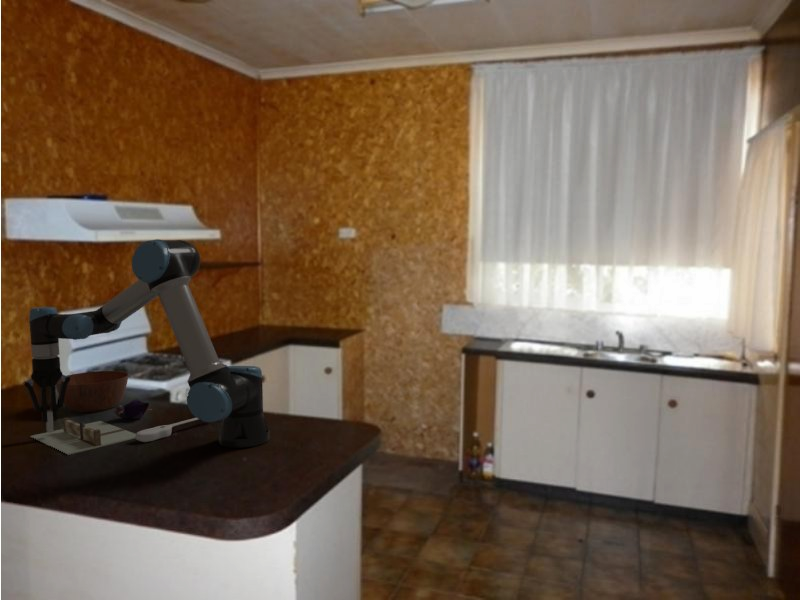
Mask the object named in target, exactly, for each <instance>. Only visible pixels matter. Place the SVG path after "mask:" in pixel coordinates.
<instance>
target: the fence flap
mask: <svg viewBox="0 0 800 600" xmlns="http://www.w3.org/2000/svg"><path fill="white" fill-rule="evenodd" d="M62 425H63V426H62V429H63V431H64V432H69V433H71V434H73V435H76V436H78V437H80V422H79V423H78V422H76V421H73V420H71V419H70V417H62Z"/></svg>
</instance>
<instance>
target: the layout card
mask: <svg viewBox="0 0 800 600" xmlns="http://www.w3.org/2000/svg"><path fill="white" fill-rule="evenodd" d="M85 427H89V428H91V429H94V430H97V429H99V430H100V435H101V445H100V446H95V445H94V443H92V442H90V441H88V440H85V439H83V440H81V438H80V437H78V436H76V435H73V434H71V433H69V432H64V431H63V428H61V429H56V430H54V432H51V433H48V432H47V431H45V432H42V433H38V434H33V435H30V438H31V439H33V438H34V439H33V440H35V439H36V441H37V440H38V441H37V442H39V441H40V443H41V442H42V443H41V444H43V443H44V444H43V445H45V446H48V447H50V446H51V447H50V448H52V447H53V448H52V449H54V448H55V449H54V450H56V449H57V450H56V451H58V450H59V452H60V451H61V452H60V453H62V452H63V453H62V454H64V453H65V455H66V454H67V456H70V455H75V454H77V453H82V452H85V451H90V450H95V449H98V448H102V447H106V446H111V445H115V444H118V443H122V442H125V441H130V440H131V441H132V440H133V439H135V440H136V433H135V432H132V431H129V430H126V429H123V428H121V427H118V426H116V425H113V424H110V423H107V422H104V421H102V420H99V421H93V422H88V423H85Z"/></svg>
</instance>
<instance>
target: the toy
mask: <svg viewBox="0 0 800 600" xmlns="http://www.w3.org/2000/svg"><path fill="white" fill-rule="evenodd" d="M149 404H150V402H144V401H142V400H141V399H139V398H135V399H133V400H130V402H128V403H126V404H125V405H123V406H122V405H119V404H118V405H117V406H116V408H114V409H113V412H114V414H115V415H116V416H118V417H120V418H122V419H123V420H124V419H126V420H141V418H143V416H144V415H145V414H146V412H147V411H153V409H152V408H149Z"/></svg>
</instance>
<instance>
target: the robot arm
mask: <svg viewBox="0 0 800 600" xmlns="http://www.w3.org/2000/svg"><path fill="white" fill-rule="evenodd" d="M131 256H132V257H131V268H132V269H131V270H132V272H133V274H134V276H135V278H137V279H138V280H137V281H135V282H134V283H132V284H131V285H130V286H128V287H127V288H125V289H124V290H123V291H121V292H120V293H118V294H117V295H115V296H114V297H113V298H112V299H110V300H108V301H107V302H106V303H104V305H101V306H100V307H99V308H98V309H96V310H93V311H83V312H78V313H77V312H76V313H69V314H68V313H67V314H66V313H65V314H64V313H62V314H61V313H60V314H59V313H58V309H57V308H56V307H54V306H40V307H33V308H31V309H30V310H29V317H28V318H29V319H28V323H29V331H30V332H29V334H30V335H29V337H30V349H31V357H32V359H31V368H32V369H31V370H32V373H31V376H30V378H29V379H28V380H24V381H23V382H22V383H23V385H24V387H25V388H26V389H27V391H28V394H29V397H30V399H31V403H32V405H33V408H34V410H35V411H36V412H41V421H42V422H43V423H45V425H46V426H45V427H46V432H48V433H51V432H54V431H55V429H54V421H55V422H56V421H57V419H58V417H57V410H59V409H62V408H63V406H64V404H63V402H64V397H65V393H66V388H67V384H68V382H69V381H70V377H68V376H67V375H64V374H63V371H62V369H61V360H60V359H61V358H60V357H59V355H60V343H59V342H60V340H59V339H63V340H64V339H65V340H75V341H77V340H85V339H87V338H89V337H90V336H95V335H101V334H109V333H111V332H115V331H117V330H118V329H119V328H120V327H121V324H122V322H123V321H125V320H127V319H128V318H129V317H131V316H132V315H133V314H135V313H136V312H138V311H139V310H140V309H142V308H144V307H145V306H147V305H148V304H149V303H151V302H152V301H153V300H154V299H157V298H159V300H160V304H161V305H162V309H163V310H164V313H165V316H166V317H167V321H168V322H169V325H170V328H171V330H172V332H173V335H174V337H175V339H176V342H177V344H178V347H179V349H180V351H181V354H182V357H183V358H184V362H185V364H186V366H187V369H188V372H189V377H188V379H187V381H186V382H187V384H188V387H189V389H188V392H187V396H186V403H187V406H188V410H189V411H190V412H191V414H192V416H194V418H198V419H199V420H200V421H202V422H206V423H214V422H218V421H221V420H222V423H221V427H220V430H219V433H218V444H219V445H220V446H223V447H226V448H234V449H235V448H239V449H240V448H250V447H257V446H260V445H263V444H265V443H267V442H269V441H270V439H271V438H270V437H271V435H270V434H271V433H270V429H269V427H268V424H267V421H266V419H265V415H264V397H263V393H264V392H263V391H264V389H263V379H264V378H263V375H262V374H263V371H262V369H261V368H260V367H259V366H254V365H253V366H252V365H227V364H225V363H222V362H221V361H220V359H219V357H218V354H217V352H216V350H215V347H214V345H213V342H212V340H211V338H210V335H209V333H208V330H207V327H206V325H205V323H204V320H203V318H202V316H201V313H200V311H199V308H198V305H197V303H196V301H195V298H194V296H193V294H192V290H191V288H190V285H189V284H190V282H191V280H192V277H194V276H195V275H196V274H197V273H198V271H199V270H200V267H201V261H202V259H201V256H200V253H199V250H198V249H197V247H195V246H194V244H192V243H191V242H188V241H186V240H183V239H182V240H180V239H178V240H177V239H175V240H171V239H169V240H168V239H167V240H163V239H154V240H153V239H152V240H146V241H143V242H142V243H140V244H139V245H138V246H137V247H136V248H135V250H134V252H133V255H131ZM60 378H61V381H62V383H61V387H60V391H59V394H58V396H56V393H57V392H56V390H57V388H56V384H57V382H58V381H59V379H60ZM33 382H34V383H35V384H36V385H37V386H38V387H39V392H40V395H39V396H40V397H39V398H40V404H39V401H38V397H37V395H36V392H35V390H34V387H33V386H34V383H33ZM47 387H48V388H49V389H48V390H49V405H50V409H49V410H48V402H47V398H48V397H47Z"/></svg>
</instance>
